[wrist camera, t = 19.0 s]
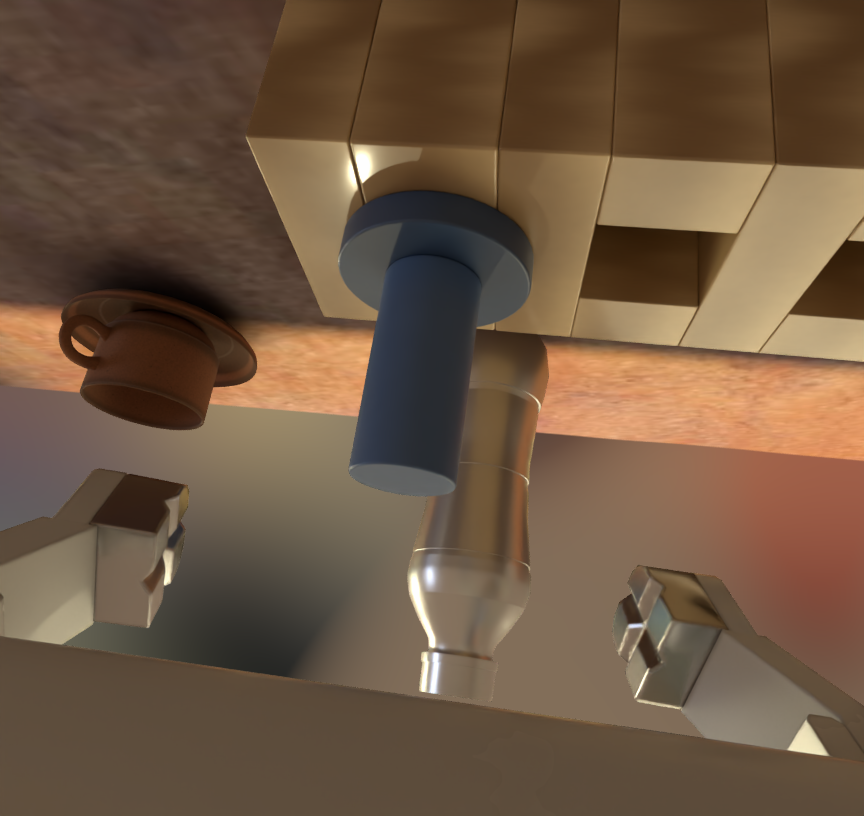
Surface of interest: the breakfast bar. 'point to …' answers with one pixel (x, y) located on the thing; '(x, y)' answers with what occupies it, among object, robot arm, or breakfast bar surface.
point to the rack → (594, 155)
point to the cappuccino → (153, 356)
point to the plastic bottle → (481, 522)
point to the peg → (426, 326)
